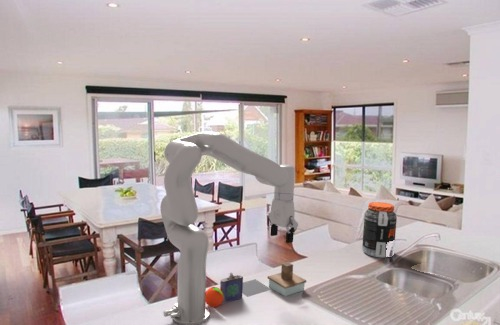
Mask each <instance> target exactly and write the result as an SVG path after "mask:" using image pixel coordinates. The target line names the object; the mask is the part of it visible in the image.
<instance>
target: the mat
mask: <svg viewBox="0 0 500 325" xmlns="http://www.w3.org/2000/svg"><path fill="white" fill-rule="evenodd" d="M271 290H272V288H270V287H269V286H266V285H265V284H264V283H262V282H260V281H259V280H257V279H251V280H248V281H244V282H243V290H242V295H245V296H246V297H247V298H248V297H251V296H254V295H257V294H261V293H264V292H267V291H271Z"/></svg>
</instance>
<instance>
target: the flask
mask: <svg viewBox="0 0 500 325" xmlns="http://www.w3.org/2000/svg"><path fill="white" fill-rule="evenodd" d="M243 281H244V277H243V276H242V275H241V274H240V275H233V272H230V273H229V275H228V277H226V278H225V277H224V278H222V279H220V282H219V283H220V286H219V289H221V291H222V292H223V296H224V298H223V301H222V303H221V304H225V303H229V302H231V301H236V300H241V299H242V298H243V293H242V290H243Z"/></svg>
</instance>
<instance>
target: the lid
mask: <svg viewBox="0 0 500 325" xmlns="http://www.w3.org/2000/svg"><path fill="white" fill-rule="evenodd" d="M293 270H294V264H293V263H291V262H289V261H286V262H282V263H281V272H278V273H275V274H271V275H268V276H267V279H268V280H271V281H273V282H274V283H276V284H278V285H279V286H281V287H283V288H284V289H286V288H290V287H293V286H296V285H299V284H303V283H305V284H306V283H307V279H305V278H303V277H301V276H299V275H297V274H295V273H293V272H294V271H293Z"/></svg>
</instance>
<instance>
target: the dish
mask: <svg viewBox="0 0 500 325" xmlns="http://www.w3.org/2000/svg"><path fill="white" fill-rule="evenodd" d="M268 280H269V279H268ZM305 284H306V283H303V284H299V285H296V286H293V287H290V288H286V289H284V288H283V287H281V286H279V285H278V284H276V283H274V282H273V281H271V280H269V281H268V287H269V288H270V289H271V290H273V291H276V292H277V293H279V295H282V296H283V297H288V296H291V295H294V294H296V293H300V292H304V291H305Z"/></svg>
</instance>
